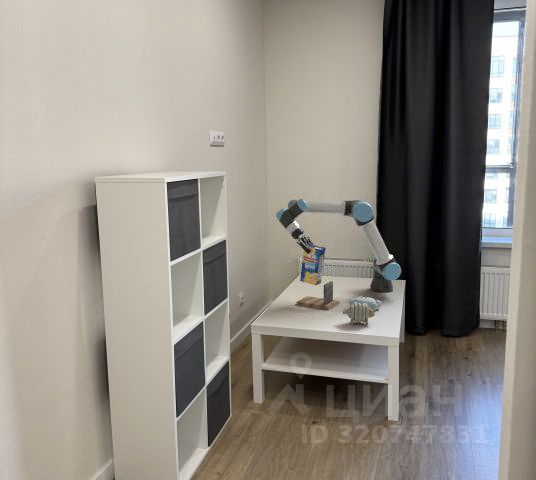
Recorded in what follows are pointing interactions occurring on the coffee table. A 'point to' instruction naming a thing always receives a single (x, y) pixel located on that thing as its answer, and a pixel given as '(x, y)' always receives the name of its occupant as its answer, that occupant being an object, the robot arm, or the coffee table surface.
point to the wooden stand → (320, 299)
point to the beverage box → (313, 265)
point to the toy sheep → (359, 313)
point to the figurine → (366, 302)
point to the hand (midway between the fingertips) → (320, 260)
